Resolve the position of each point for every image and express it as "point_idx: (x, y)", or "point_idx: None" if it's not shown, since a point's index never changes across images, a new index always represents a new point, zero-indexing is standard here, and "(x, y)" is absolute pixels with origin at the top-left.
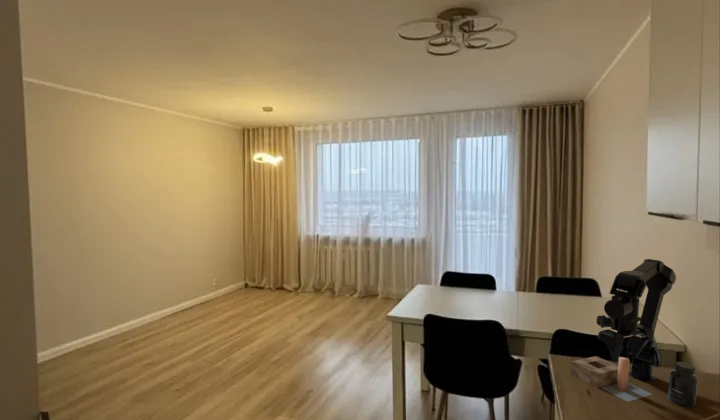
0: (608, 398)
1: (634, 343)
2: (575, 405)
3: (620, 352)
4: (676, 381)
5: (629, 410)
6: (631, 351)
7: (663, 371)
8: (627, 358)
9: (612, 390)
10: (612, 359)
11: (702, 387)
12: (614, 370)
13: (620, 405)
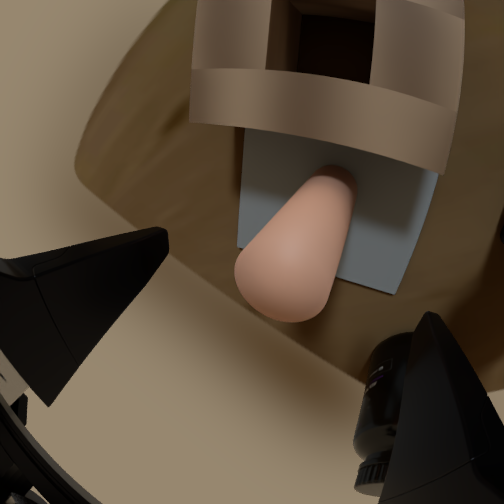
0: (205, 185)
1: (436, 460)
2: (95, 158)
3: (90, 340)
4: (359, 423)
5: (201, 262)
6: (434, 345)
7: None
8: (324, 300)
9: (272, 168)
10: (141, 233)
11: None
12: (350, 146)
13: (201, 233)
